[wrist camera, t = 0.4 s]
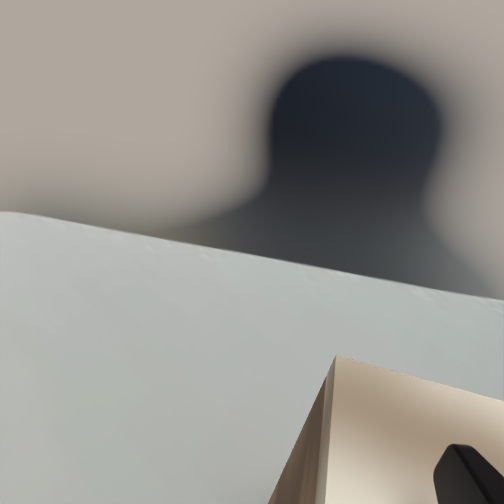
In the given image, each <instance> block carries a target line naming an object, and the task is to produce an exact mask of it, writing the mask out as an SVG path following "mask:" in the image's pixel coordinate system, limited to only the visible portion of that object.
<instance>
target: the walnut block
mask: <svg viewBox="0 0 504 504" xmlns="http://www.w3.org/2000/svg"><path fill="white" fill-rule="evenodd" d="M450 444H465V445H470V446H472V447H473V448H475V449H476V450H477V451H478V452H479V453H480V454H481V455H482V456H483V457H484V458H485V459H486V460H487V461H488V462H489V463H490V464H491V465H492V466H493V467H494V468H495V469H496V470H498V471H499V472H500V473H501V474H502V475H503V476H504V401H501V400H497V399H494V398H490V397H486V396H483V395H479V394H475V393H472V392H468V391H465V390H461V389H457V388H454V387H450V386H447V385H443V384H439V383H436V382H432V381H429V380H425V379H421V378H418V377H414V376H411V375H407V374H403V373H400V372H396V371H393V370H389V369H385V368H382V367H378V366H375V365H371V364H367V363H364V362H360V361H356V360H353V359H349V358H346V357H342V356H338V355H336V356H335V358H334V361H333V363H332V365H331V367H330V369H329V371H328V374H327V376H326V378H325V380H324V382H323V385H322V387H321V389H320V391H319V393H318V396H317V398H316V400H315V402H314V404H313V406H312V409H311V411H310V413H309V415H308V417H307V420H306V422H305V424H304V426H303V428H302V431H301V433H300V435H299V437H298V439H297V441H296V444H295V446H294V448H293V450H292V452H291V455H290V457H289V459H288V461H287V463H286V466H285V468H284V470H283V472H282V474H281V476H280V479H279V481H278V483H277V485H276V487H275V490H274V492H273V494H272V496H271V498H270V500H269V503H268V504H438V501H437V497H436V492H435V487H434V481H433V472H434V469H435V466H436V465H437V463H438V461H439V460H440V458H441V456H442V455H443V453H444V451H445V449H446V448H447V446H448V445H450Z"/></svg>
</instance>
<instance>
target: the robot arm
mask: <svg viewBox="0 0 504 504" xmlns="http://www.w3.org/2000/svg"><path fill="white" fill-rule="evenodd" d="M433 481H434V487H435V492H436V497H437V501H438V504H504V476H503V475H502V474H501V473H500V472H499V471H498V470H496V469H495V468H494V467H493V466H492V465H491V464H490V463H489V462H488V461H487V460H486V459H485V458H484V457H483V456H482V455H481V454H480V453H479V452H478V451H477V450H476V449H475V448H473V447H472V446H470V445H465V444H450V445H448V446H447V448H446V449H445V451H444V453H443V455H442V456H441V458H440V460H439V461H438V463H437V465H436V466H435V469H434V472H433Z"/></svg>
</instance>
